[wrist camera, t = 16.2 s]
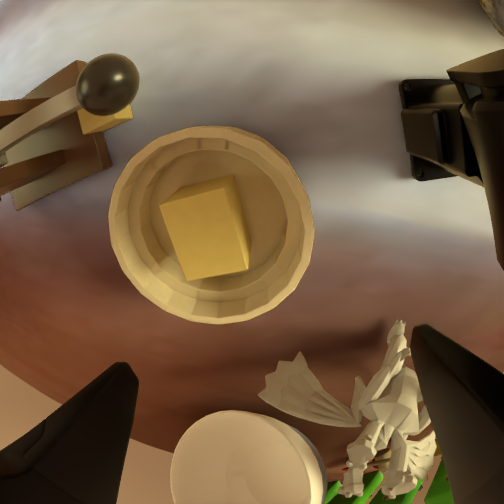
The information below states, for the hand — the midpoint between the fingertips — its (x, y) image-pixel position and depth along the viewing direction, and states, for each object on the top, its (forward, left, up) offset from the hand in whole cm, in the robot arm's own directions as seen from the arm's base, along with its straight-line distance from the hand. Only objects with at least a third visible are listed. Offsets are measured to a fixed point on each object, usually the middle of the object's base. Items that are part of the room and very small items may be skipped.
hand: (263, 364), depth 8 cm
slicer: (+14, -10, -12) cm, 21 cm away
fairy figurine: (-6, +13, -12) cm, 18 cm away
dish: (+3, -1, -12) cm, 12 cm away
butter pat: (+3, -1, -11) cm, 12 cm away
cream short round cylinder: (+4, +28, -7) cm, 29 cm away
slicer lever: (+10, -10, -7) cm, 16 cm away
